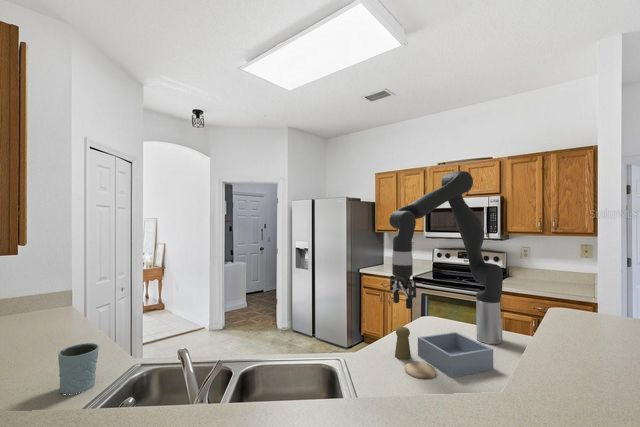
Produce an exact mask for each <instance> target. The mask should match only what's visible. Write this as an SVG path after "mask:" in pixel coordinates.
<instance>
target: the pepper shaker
mask: <svg viewBox="0 0 640 427" xmlns="http://www.w3.org/2000/svg"><path fill="white" fill-rule="evenodd" d="M395 335H396V344H395V351H394V358H396V359H398V360H401V361H409V360H411V359H412V355H411V354H412V352H411V346H410V340H409V337H410V335H411V331H410V329H409V328H408V327H406V326H398V327H397V328H396V329H395Z"/></svg>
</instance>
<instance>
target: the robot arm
mask: <svg viewBox="0 0 640 427" xmlns="http://www.w3.org/2000/svg"><path fill="white" fill-rule="evenodd" d="M473 184H474V179H473V176H472V174H471V173H469V172H468V171H464V170H459V171H453V172H449V173H445V174H444V175H443V176H442V178H441V186H440V187H439V188H436V189H435V190H433V191H430V192H428V193H427V192H426V194H423V195H422V196H420V197H419V198H416V199H415V200H414V201H413V202H411V203H410V204H408V205H405V206H402V207H400V208H399V209H396V210H394V211H393V212H392V213H391V215H390V216H389V219H388V220H389V225H390V226H391V227H392V228H394V229H396V230H398V234H397V235H395V236H394V237H393V239H392V256H391V258H392V259H391V263H392V264H391V266H392V268H391V271H392V272H391V273H392V275H390V278H389V290H390V291H391V292H392V295H393V300H392V301H393V303H394V304H399V303H400V291H401V292H402V293H403V294H404V296H405V308H406V309H408V310H409V309H413V299H414V298H417V283H416V282H417V281H415V280H411V277H412V276H413V274H414V273H413V272H414V271H413V265H414V264H413V259H414V258H413V247H412V246H413V242H412V240H413V239H414V234H415V230H416V224H417V219H422V218H423V217H425V216H427V215H429V213H431V212H432V211H434V210H436V209H437V208H439V207H440V206H441V205H443V204H445V203H446V202H448V204H449V206H450V209H451V211H452V214H453V217H454V219H455V222H456V225H457V226H456V227H457V228H458V232H459V234H460V237H461V240H462V243H463V246H464V249H465V252H466V256H467V259H468V260H467V261H468V265H469V269H470V273H471V276H472V278H473V279H474V281H475V282H477V283H479V284H484V285H485V286H484V290H481V291H480V290H479V291H477V292H476V293H475V295H476V296H475V300H476V302H475V303H476V304H475V305H476V306H475V307H476V309H475V310H476V312H475V313H476V318H475V319H476V320H475V321H476V340H477V342H478V341H479V343H482V344H483V343H484V344H488V345H499V344H501V342H503V319H502V317H501V297H502V295H503V282H504V274H503V268H501V266H500V265H499V264H495V263H491V262H485V260H484V258H483V254H482V253H483V252H482V248H483V247H482V246H483V244H484V240H485V230H484V227H483V224H482V222H481V219H480V218H479V216H478V215H477V213H476V212H475V211H474V210H473V209H472V208H471V207H470V206H469V205H468V203H467V202H466V201H465V199H464V196H463V194H465V193H468V192H469V191H470V190H471V189H472V187H473Z"/></svg>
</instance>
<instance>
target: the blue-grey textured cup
mask: <svg viewBox="0 0 640 427" xmlns="http://www.w3.org/2000/svg"><path fill="white" fill-rule="evenodd" d="M99 347H100V346H99V345H98V344H97V343H92V342H90V343H89V342H88V343H86V342H85V343H80V344H74V345H70V346H68V347H65V348H62V349H61V350H60V351H58V353H57V356H58V371H59V394H61V393H62V394H66V395H69V394H76V393H79V392H83V391H85V392H87V391H89V390H91V389H93V387H94V386H95V383H96V382H95V381H96V371H97V362H98V356H99V350H100V348H99ZM90 388H91V389H90ZM88 389H89V390H88ZM86 390H87V391H86ZM83 393H84V392H83ZM62 394H61V395H62ZM76 395H77V394H76Z"/></svg>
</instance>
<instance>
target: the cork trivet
mask: <svg viewBox="0 0 640 427" xmlns="http://www.w3.org/2000/svg"><path fill="white" fill-rule="evenodd" d="M404 370H405V373H406V374H407V375H409V376H410V377H413V378H416V379H422V380H424V379H425V380H427V379H428V380H429V379H432V378H435V376H436V375H437V374H436V372H437V371H436V367H434V366H433V365H431V364H430V363H425V362H422V361H421V362H420V361H411V362H408V363H406V364H405V366H404Z"/></svg>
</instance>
